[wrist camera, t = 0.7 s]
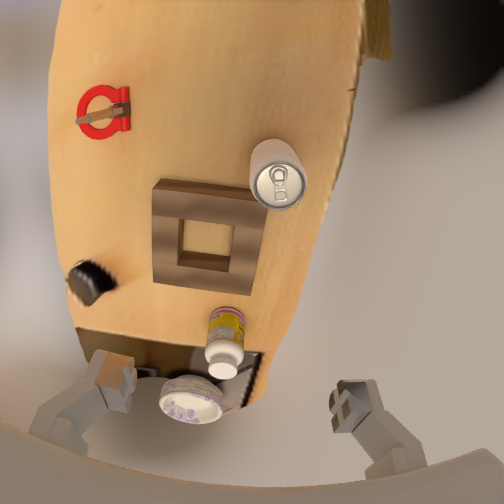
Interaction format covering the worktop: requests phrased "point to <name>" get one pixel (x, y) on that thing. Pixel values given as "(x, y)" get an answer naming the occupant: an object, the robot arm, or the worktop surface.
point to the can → (277, 175)
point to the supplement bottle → (225, 342)
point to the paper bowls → (191, 399)
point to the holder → (214, 211)
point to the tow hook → (104, 112)
